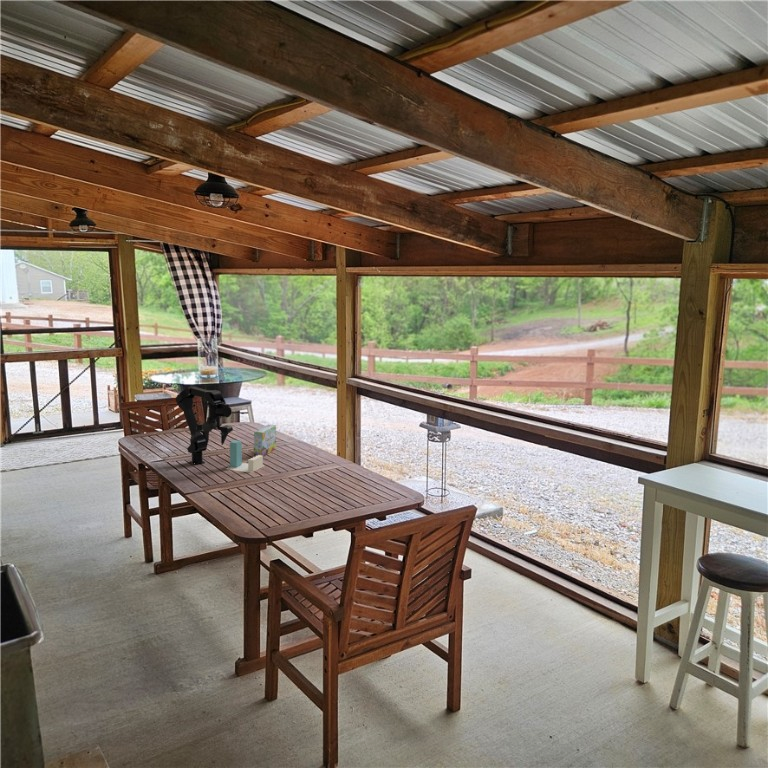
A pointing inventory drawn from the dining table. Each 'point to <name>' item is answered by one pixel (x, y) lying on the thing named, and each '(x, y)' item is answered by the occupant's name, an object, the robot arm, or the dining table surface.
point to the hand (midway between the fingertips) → (214, 443)
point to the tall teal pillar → (235, 453)
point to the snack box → (264, 440)
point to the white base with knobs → (250, 465)
